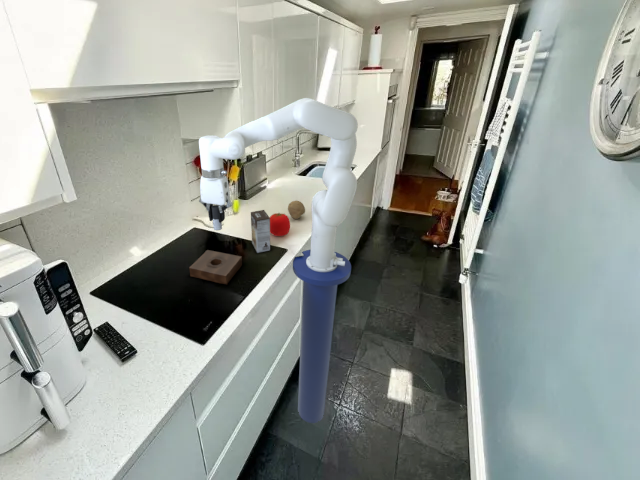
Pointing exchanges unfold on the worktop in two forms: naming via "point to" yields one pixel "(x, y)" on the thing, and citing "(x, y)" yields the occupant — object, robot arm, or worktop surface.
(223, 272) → the holder
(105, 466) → the worktop surface
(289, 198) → the worktop surface
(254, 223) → the coffee box
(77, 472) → the worktop surface
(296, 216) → the natural sponge
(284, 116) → the robot arm
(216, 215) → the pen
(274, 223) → the tomato
